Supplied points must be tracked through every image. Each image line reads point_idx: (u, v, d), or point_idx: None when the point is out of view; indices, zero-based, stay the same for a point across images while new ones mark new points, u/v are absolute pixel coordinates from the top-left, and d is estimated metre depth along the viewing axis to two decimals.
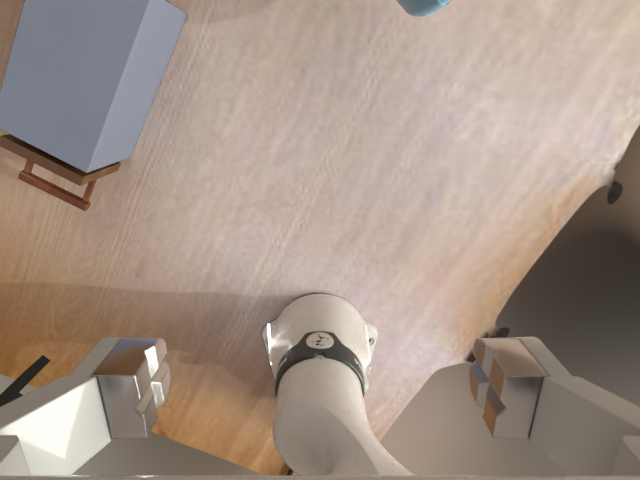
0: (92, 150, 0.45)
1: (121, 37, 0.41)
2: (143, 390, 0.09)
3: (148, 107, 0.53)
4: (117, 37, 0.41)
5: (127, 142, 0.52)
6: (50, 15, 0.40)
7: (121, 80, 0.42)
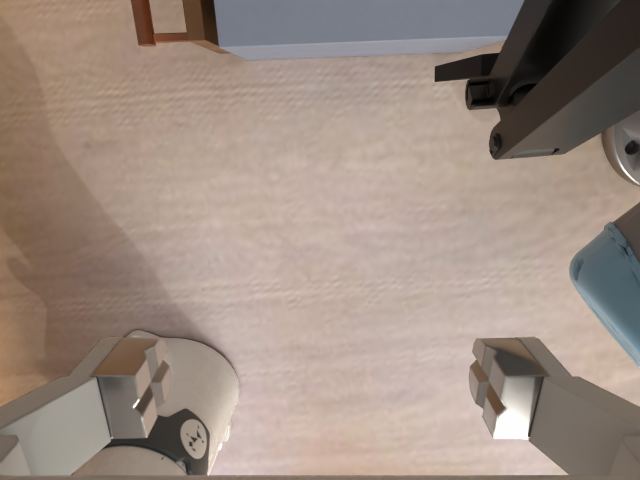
0: (259, 42, 0.27)
1: (445, 16, 0.27)
2: (143, 390, 0.09)
3: (328, 56, 0.37)
4: (442, 11, 0.26)
5: (272, 56, 0.35)
6: None
7: (384, 41, 0.27)
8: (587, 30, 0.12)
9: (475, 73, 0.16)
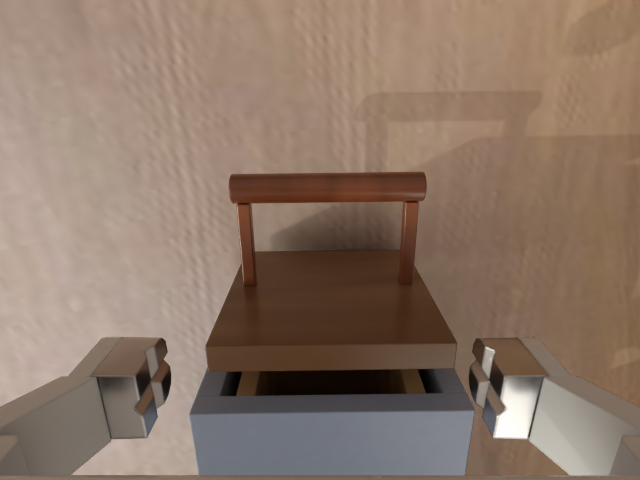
0: (203, 468, 0.16)
1: None
2: (143, 390, 0.09)
3: None
4: None
5: None
6: None
7: None
8: None
9: None
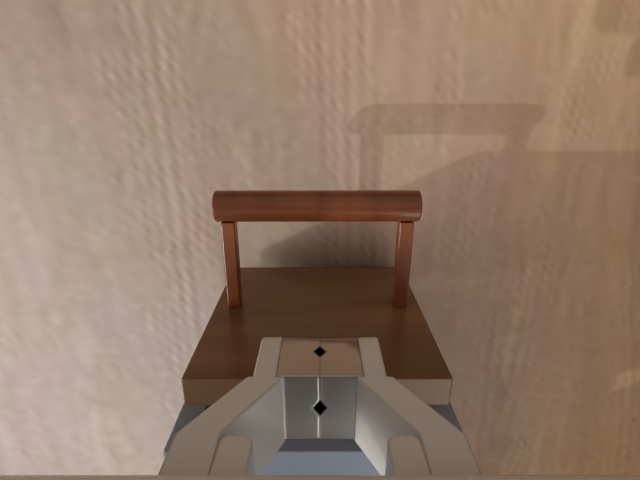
0: None
1: None
2: None
3: None
4: None
5: None
6: None
7: None
8: None
9: None
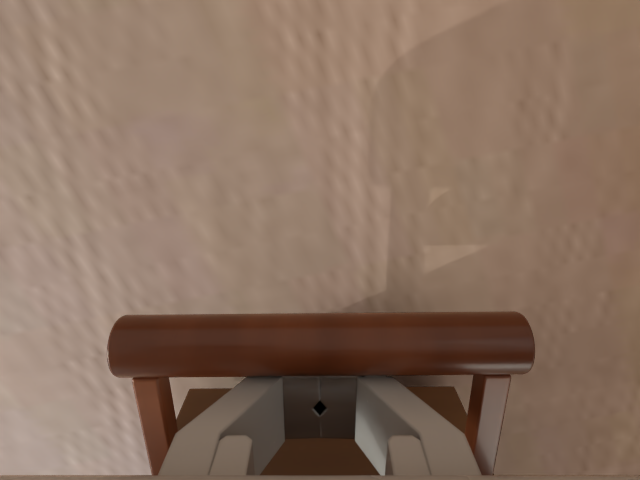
0: None
1: None
2: None
3: None
4: None
5: None
6: None
7: None
8: None
9: None
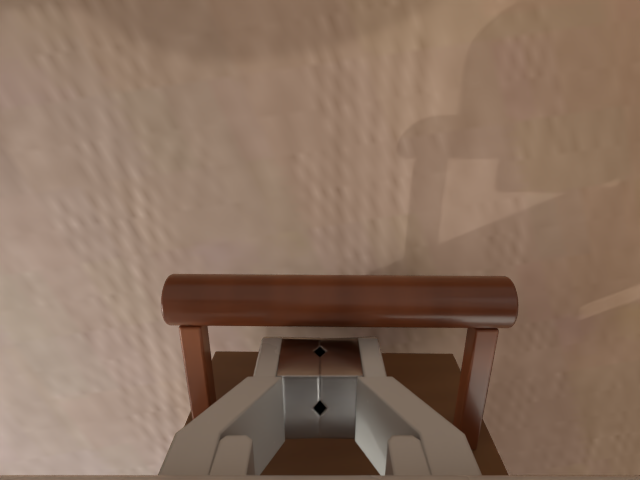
0: None
1: None
2: None
3: None
4: None
5: None
6: None
7: None
8: None
9: None
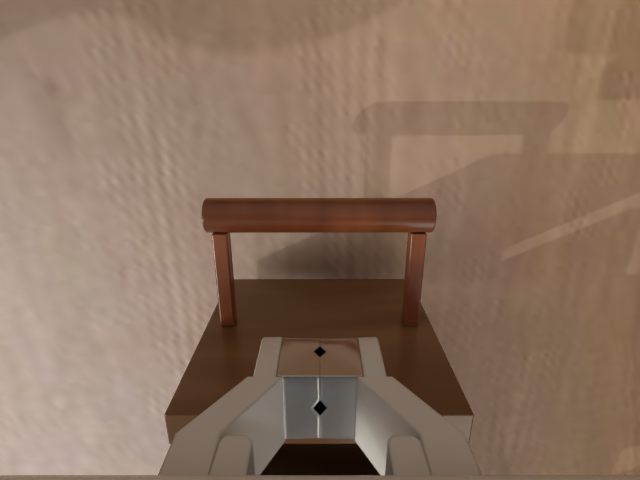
0: None
1: None
2: None
3: None
4: None
5: None
6: None
7: None
8: None
9: None
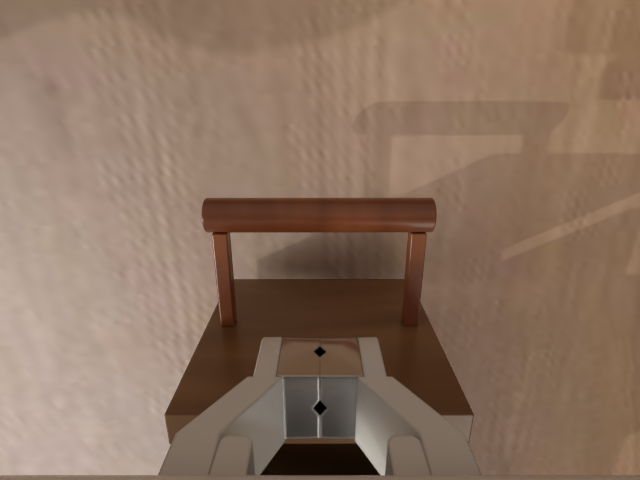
0: None
1: None
2: None
3: None
4: None
5: None
6: None
7: None
8: None
9: None
